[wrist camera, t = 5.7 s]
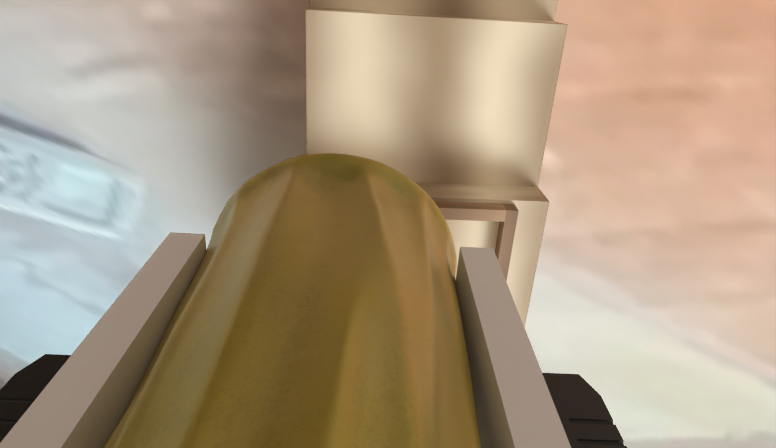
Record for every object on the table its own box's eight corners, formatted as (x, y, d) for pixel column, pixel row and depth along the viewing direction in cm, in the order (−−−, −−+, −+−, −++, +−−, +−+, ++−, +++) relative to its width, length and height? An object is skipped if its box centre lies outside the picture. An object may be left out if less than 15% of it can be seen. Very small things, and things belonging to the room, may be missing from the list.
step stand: (315, 282, 35) (303, 354, 29) (314, -84, 26) (296, -102, 20) (495, 288, 36) (523, 359, 29) (553, -68, 27) (612, -80, 21)
